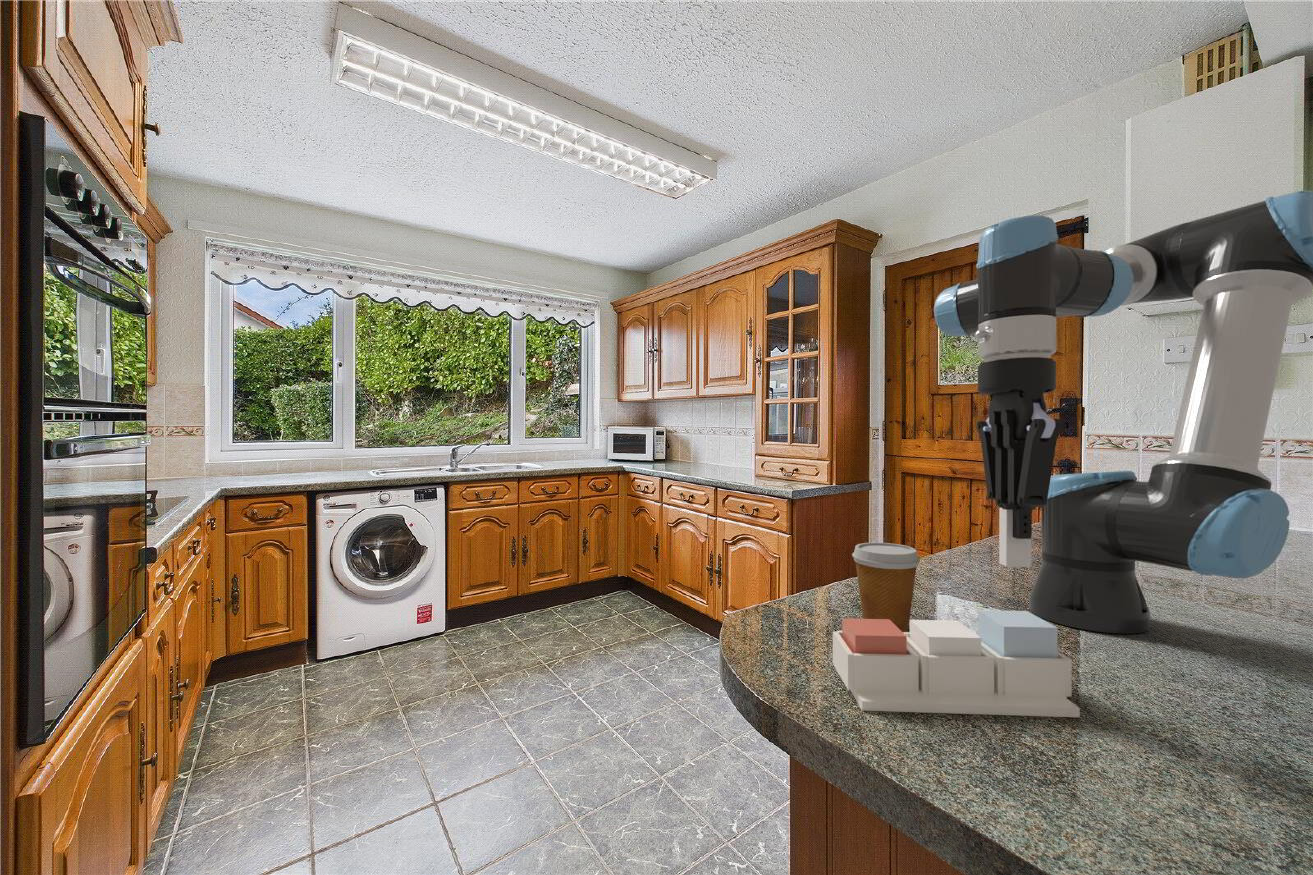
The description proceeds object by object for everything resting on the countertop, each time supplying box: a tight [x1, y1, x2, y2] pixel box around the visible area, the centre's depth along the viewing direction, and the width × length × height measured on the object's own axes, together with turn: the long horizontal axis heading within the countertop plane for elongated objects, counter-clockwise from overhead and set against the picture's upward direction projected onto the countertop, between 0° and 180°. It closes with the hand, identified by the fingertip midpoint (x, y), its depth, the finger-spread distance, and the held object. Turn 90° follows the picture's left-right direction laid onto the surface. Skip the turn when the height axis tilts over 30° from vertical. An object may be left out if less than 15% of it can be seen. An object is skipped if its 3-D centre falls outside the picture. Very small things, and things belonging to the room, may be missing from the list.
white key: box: [909, 619, 981, 656], centre depth 64 cm, size 6×6×4 cm
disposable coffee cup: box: [851, 542, 921, 632], centre depth 84 cm, size 10×10×12 cm
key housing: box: [832, 630, 1081, 718], centre depth 64 cm, size 24×12×5 cm, turn 86°
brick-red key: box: [841, 617, 907, 655], centre depth 64 cm, size 6×6×4 cm
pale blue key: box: [977, 609, 1059, 658], centre depth 63 cm, size 6×6×4 cm
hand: (1015, 565), depth 63 cm, fingers closed
